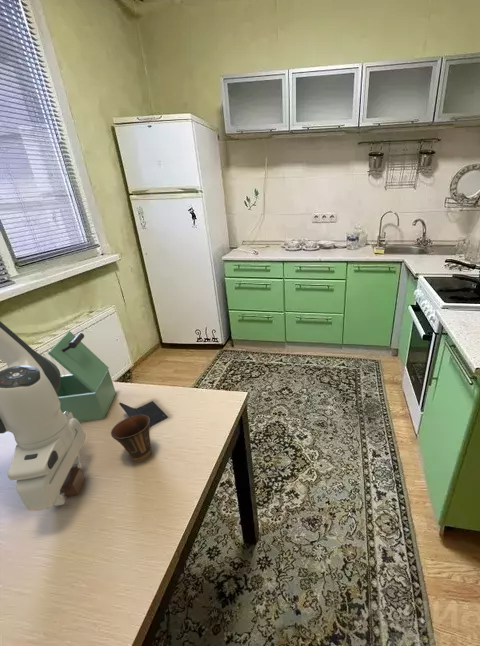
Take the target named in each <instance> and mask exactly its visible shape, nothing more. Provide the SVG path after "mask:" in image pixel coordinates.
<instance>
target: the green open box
mask: <svg viewBox="0 0 480 646" xmlns="http://www.w3.org/2000/svg"><path fill="white" fill-rule="evenodd" d="M60 375H61V374H60ZM112 379H113V378H112V377H111V373H110V371H109V369H108V370H107V372H106V374H105V376H104V378H103V379H102V381H101V383H100V385H99V387H98V388H97V390H96V392H94V393H93V392H92V391H91V390H90V389H88V388H87V387H86V386H85V385H84V384H83V383H81V382H80V381H79V380H78V379H77V378H76V377H75V376H73V375H72V374H71V373H70V374H62V375H61V383H60V388H59V390H58V392H57V393H56V394H57V396H58V398H59V401H60V408H61V411H62V412H63V413H64V412H67V411H68V412H71V413H72V415H73V417H74V418H76V419H77V420H78V421H79V422H80V423H83V422H91V421H96V420H103V419H105V417H106V416H107V414H108V412H109V409H110V407H111V405H112V403H113V401H114V398H115V397H116V395H117V394H116V393H117V392H116V389H115V386H114V383H113V380H112Z"/></svg>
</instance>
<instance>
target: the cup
mask: <svg viewBox="0 0 480 646" xmlns="http://www.w3.org/2000/svg"><path fill="white" fill-rule="evenodd" d="M150 428H151V427H150V418H149V417H148V416H146V415H136V416H131V417H129V416H128V417H126V418H124V419H123V420H121V421H120V422H118V423H117V424H115V426H114V427H113V428H112V429H111V431H110V435H111V437H112V439H114V440H115V441H117V443H119V444H120V445H121V446H122V447H123V449H124V450H125V451H126V452H127V454H128V456H129V457H130V459H131V460H132V461H134V462H136V463H140V462H143V461H145V460H147V459H149V457H151V455H152V454H153V449H152V444H151V438H150V436H151V435H150Z"/></svg>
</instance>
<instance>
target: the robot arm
mask: <svg viewBox="0 0 480 646" xmlns="http://www.w3.org/2000/svg"><path fill="white" fill-rule="evenodd" d="M0 360H2V361H3V363H5V364H6V365H7V367H6V368H5V369H2V370H0V434H5V433H6V432H8V433H11V434H12V435H13V438H14V441H15V443H16V445H15V448H14V454H13V458H12V461H11V462H10V465H9V468H8V471H7V478H8V479H9V481H16V482H15V489H16V492H17V494H18V496H19V498H20V500H21V502H22V503H23V504H24V506H25V508H26V509H27V510H28V511H29V512H37V511H38V512H39V511H43V510H48V509H50V508H52V507H53V505H55V506H57V507H58V506H63V505H65V503H66V500H67V496H66V494H65V493H61V494H60V489H61V487H62V485H63V483H64V481H65V479H66V477H67V475H68V473H69V471H70V469H76V468H80V469H81V468H82V464H81V457H80V456H81V452H80V451H81V450H82V447H83V445H84V443H85V441H86V432H85V430H84V428H83V426H82V424H81V422H79V421H78V420H77V419H76V418H74V417H73V415H72V413H71V412H68V411H67V412H64V413H63V412H62V411H61V408H60V401H59V398H58V396H57V394H56V393H57V392H58V390H59V388H60V383H61V371H60V369H59V367H58V366H57V365H56V364H55V363H54V362H52V361H51V360H49V358H47V357H46V356H44V355H42V354H40V353H38V352H37V351H36V350H34V348H32V347H31V346H29V344H27V342H25V341H24V340H23V339H22V338H20V337H19V336H18V335H17V334H16V333H15V332H14V331H12V330H11V329H10V328H9V327H8V326H7V325H5V324H4V323H3V322H2V321H1V320H0Z"/></svg>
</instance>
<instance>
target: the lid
mask: <svg viewBox="0 0 480 646" xmlns="http://www.w3.org/2000/svg"><path fill="white" fill-rule="evenodd" d="M84 338H85V334H84V333H82V332H78V333H77V334H76V335H75V334H74V333H73V332H71V331H70V330H69V331H67V332H66V333H65V334H64V335H63V336H62V337H61V338H60V340H58V342H57V343H56V344H55V345H54V346H52V348H50V350H49V351H48V352H47V354H48V355H49V356H50V357H51V358H52V359H53V360H55V361H56V362H57V363H58V364H59V365H61V367H63V368H64V369H65V370H66V371H68V372H69V373H70V374H72V375H73V376H75V377H76V378H77V379H78V380H79V381H80V382H81V383H83V384H84V385H85V386H86V387H87V388H88V389H90V390H91V391H92V392H93V393H94V392H96V390H97V388H98V387H99V385H100V383H101V381H102V379H103V378H104V376H105V374H106V372H107V370H109V369H110V367H109V366H108V365H107V364H106V363H104V362H103V361H102V360H101V359H100V358H99V357H98V356H97V355H96V354H95V353H94V352H93V351H92V350H90V348H89V347H87V346H86V344H85V343H83V342H82V340H83V339H84Z"/></svg>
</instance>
